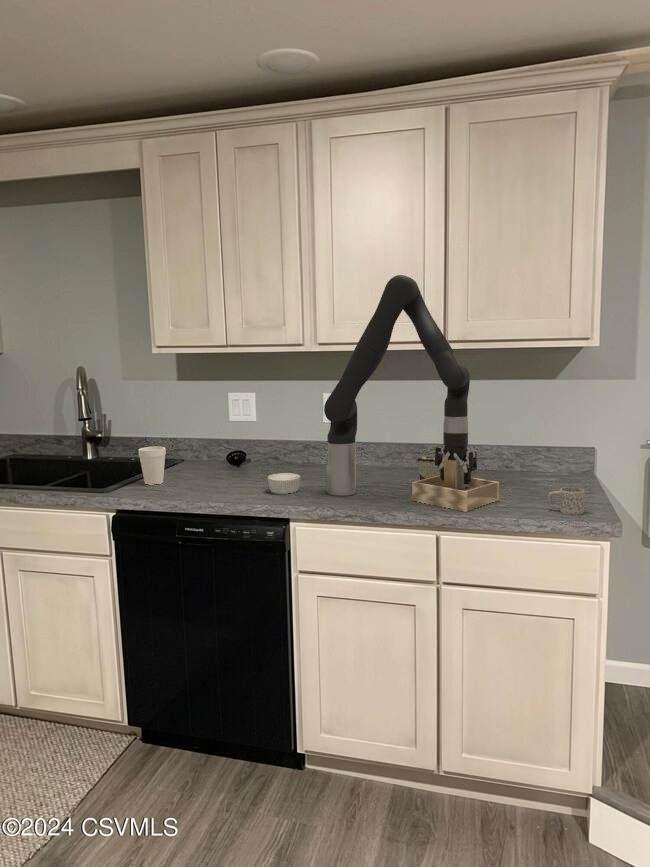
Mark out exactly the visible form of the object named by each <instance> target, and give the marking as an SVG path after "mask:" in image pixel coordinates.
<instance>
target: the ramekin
mask: <svg viewBox="0 0 650 867" xmlns="http://www.w3.org/2000/svg"><path fill="white" fill-rule="evenodd" d="M300 480H301V475H300V474H298V473H293V472H292V473H291V472H282V473H273V474H270V475H268V476H267V481H268V486H269V487H268V488H269V491H270V492H271V493H272V494H275V495H289V494H288V493H291V494H294V492H295V493H297V492H298V491H299V488H300V487H299V486H300ZM296 491H297V492H296Z"/></svg>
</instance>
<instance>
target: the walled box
mask: <svg viewBox="0 0 650 867" xmlns="http://www.w3.org/2000/svg"><path fill="white" fill-rule="evenodd" d="M497 500H500V481H495V480H488V479H484V478H478V477H471V482H470V483H469V484H465V490H456V489H451V488H445V487H444V480H441V477H440V475H438V476H435V477H431V478H427V479H423V480H419V479H418V480H416V481H412V482H411V501H412V502H415V501H417V502H416V503H419V502H421V503H420V504H424V503H426V504H425V505H429V504H431V506H434V505H437V506H436V507H439V506H442V507H441V508H444V507H446V508H445V509H448V508H451V509H450V510H453V509H455V511H458V510H459V511H458V512H463V513H466V512H469V510H470V511H472V509H473V510H475V509H474V508H476V509H478V508H477V507H479V508H481V507H480V506H482V507H484V506H483V505H485V506H487V505H486V504H488V503H491V502H494V501H497ZM497 502H498V501H497ZM494 503H495V502H494ZM491 504H492V503H491ZM488 505H489V504H488Z"/></svg>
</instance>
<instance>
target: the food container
mask: <svg viewBox="0 0 650 867" xmlns="http://www.w3.org/2000/svg"><path fill="white" fill-rule="evenodd" d="M444 457H445V455H444V456H443V459H444ZM415 462H416V463H417V469H418V471H417V472H418V481H419V480H423V479H427V478H431V477H435V476H438V475H440V467H438V466H436V465H435V454H434V455H433V454H426V455H425V454H424V455H417V457H416V461H415Z"/></svg>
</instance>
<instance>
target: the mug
mask: <svg viewBox="0 0 650 867" xmlns="http://www.w3.org/2000/svg"><path fill="white" fill-rule="evenodd" d="M585 492H586V491H585V489H584V488H583V487H576V486H565V487H564V486H563V487H560V489H559V490H554V491H550V492H548V495H547V505H548V507H549V508H552V509H556V510H559V512H560V513H562V514H564V515H570V516H578V515H577V514H580V515H583V514H584V513H585V495H586V494H585ZM553 496H559V504H554V503H552V497H553Z"/></svg>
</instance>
